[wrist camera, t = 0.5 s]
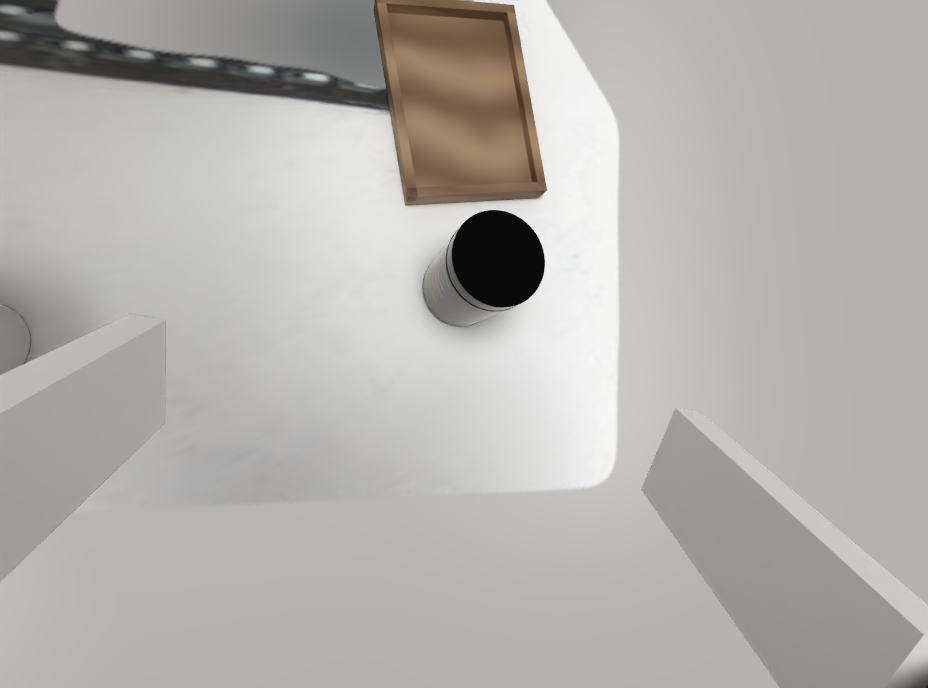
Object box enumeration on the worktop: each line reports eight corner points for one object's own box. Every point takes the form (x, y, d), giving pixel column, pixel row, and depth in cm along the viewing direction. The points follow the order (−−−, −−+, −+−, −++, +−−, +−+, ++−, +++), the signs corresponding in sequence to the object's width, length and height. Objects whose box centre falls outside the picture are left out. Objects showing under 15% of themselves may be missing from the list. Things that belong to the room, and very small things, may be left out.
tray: (373, 10, 41) (375, -7, 39) (506, 19, 44) (513, 5, 43) (405, 205, 40) (408, 197, 38) (538, 198, 44) (546, 190, 42)
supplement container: (438, 339, 40) (474, 322, 30) (408, 267, 39) (435, 226, 29) (504, 312, 42) (559, 288, 32) (476, 243, 41) (523, 198, 31)
